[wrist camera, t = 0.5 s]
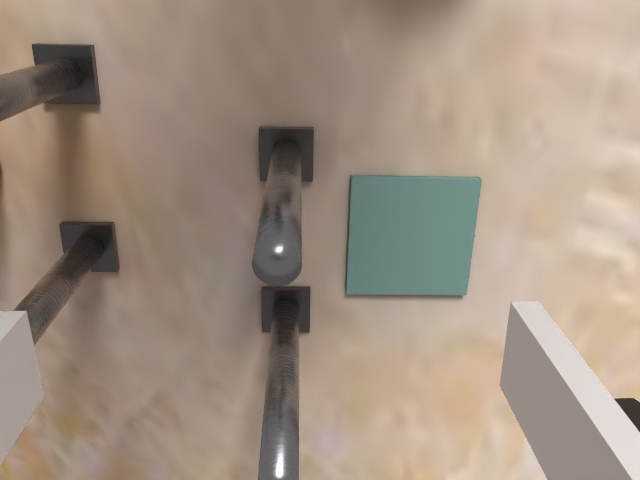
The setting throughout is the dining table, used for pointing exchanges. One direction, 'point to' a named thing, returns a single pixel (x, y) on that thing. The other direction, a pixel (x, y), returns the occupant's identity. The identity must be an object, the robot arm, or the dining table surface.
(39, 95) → the gate
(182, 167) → the dining table surface
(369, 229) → the felt coaster
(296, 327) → the gate
